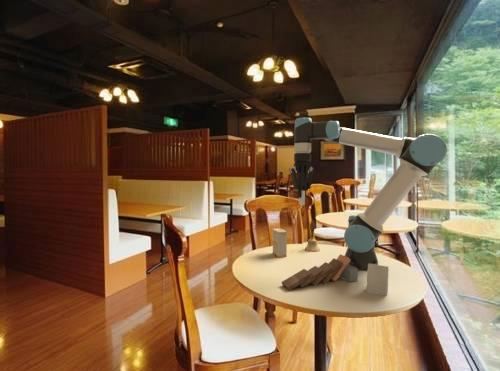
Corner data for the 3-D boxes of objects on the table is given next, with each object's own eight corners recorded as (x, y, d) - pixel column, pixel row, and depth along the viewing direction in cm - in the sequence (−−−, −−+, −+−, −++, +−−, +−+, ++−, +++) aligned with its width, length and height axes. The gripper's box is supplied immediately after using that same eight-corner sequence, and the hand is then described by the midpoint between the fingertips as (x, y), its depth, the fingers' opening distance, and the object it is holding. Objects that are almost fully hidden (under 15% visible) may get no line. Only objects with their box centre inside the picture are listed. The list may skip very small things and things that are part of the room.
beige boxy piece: (386, 295, 102) (387, 268, 101) (366, 291, 105) (367, 264, 105) (387, 292, 105) (388, 265, 104) (368, 287, 108) (369, 262, 108)
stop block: (340, 271, 125) (340, 260, 124) (357, 280, 116) (357, 268, 115) (332, 273, 123) (333, 261, 123) (349, 281, 114) (349, 269, 114)
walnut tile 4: (317, 279, 117) (335, 261, 120) (325, 283, 112) (343, 264, 115) (315, 276, 116) (333, 258, 119) (323, 280, 112) (342, 261, 115)
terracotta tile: (327, 277, 119) (342, 256, 121) (335, 281, 114) (350, 260, 117) (324, 274, 118) (340, 254, 121) (333, 279, 114) (348, 257, 116)
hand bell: (305, 251, 155) (305, 222, 154) (304, 247, 163) (304, 219, 162) (321, 251, 154) (321, 222, 153) (318, 247, 162) (319, 219, 161)
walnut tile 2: (294, 283, 112) (316, 269, 116) (302, 288, 108) (324, 273, 112) (293, 279, 112) (315, 265, 116) (300, 284, 108) (323, 269, 111)
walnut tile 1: (282, 285, 110) (305, 272, 114) (289, 290, 106) (312, 276, 110) (281, 282, 110) (304, 268, 114) (288, 287, 105) (311, 272, 109)
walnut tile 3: (307, 281, 115) (326, 265, 118) (314, 285, 110) (334, 269, 114) (305, 277, 114) (325, 262, 118) (313, 282, 110) (333, 265, 113)
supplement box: (287, 256, 145) (287, 231, 145) (278, 257, 144) (278, 232, 143) (280, 252, 153) (281, 228, 152) (272, 252, 152) (272, 228, 151)
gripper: (309, 153, 135) (308, 203, 137) (285, 152, 130) (285, 204, 132) (319, 152, 128) (318, 205, 130) (294, 152, 123) (294, 206, 125)
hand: (301, 204), depth 131 cm, fingers closed
